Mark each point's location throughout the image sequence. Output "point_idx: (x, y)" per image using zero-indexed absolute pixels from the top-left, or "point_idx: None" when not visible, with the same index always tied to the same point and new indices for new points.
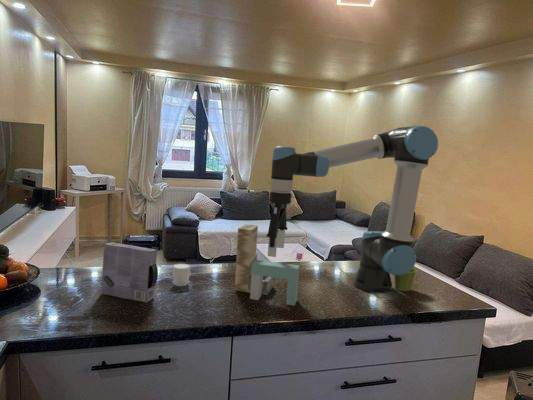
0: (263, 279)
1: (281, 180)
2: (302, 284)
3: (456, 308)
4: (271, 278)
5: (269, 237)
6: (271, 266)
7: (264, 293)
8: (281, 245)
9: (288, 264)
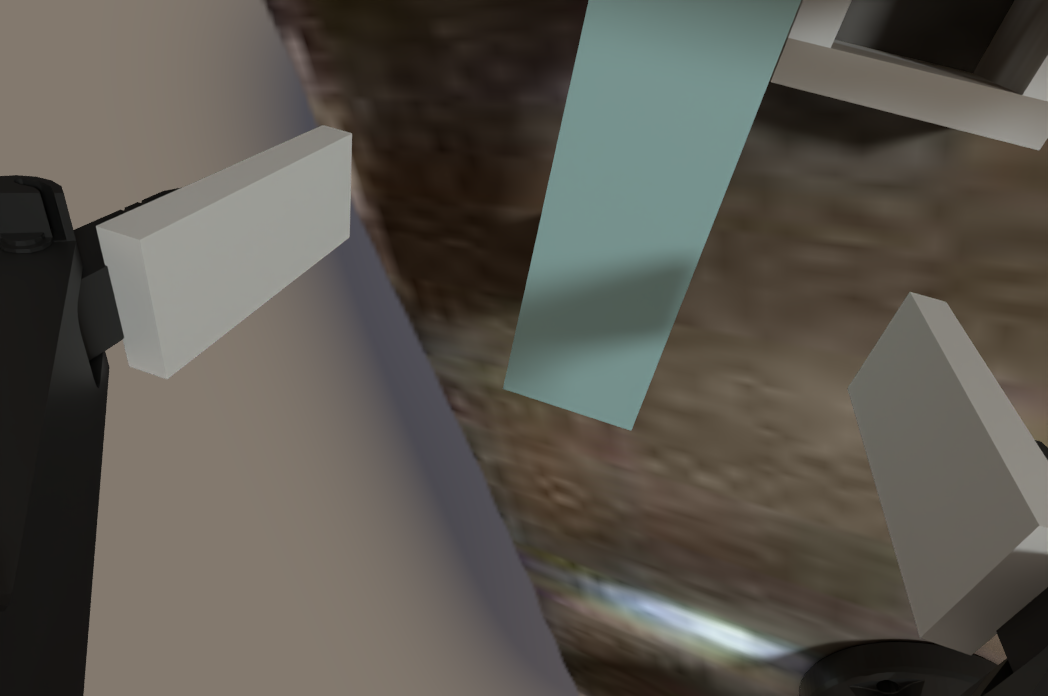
0: (1037, 24)
1: None
2: (1019, 374)
3: None
4: (936, 121)
5: (107, 232)
6: (557, 151)
7: None
8: (872, 387)
9: (646, 340)
